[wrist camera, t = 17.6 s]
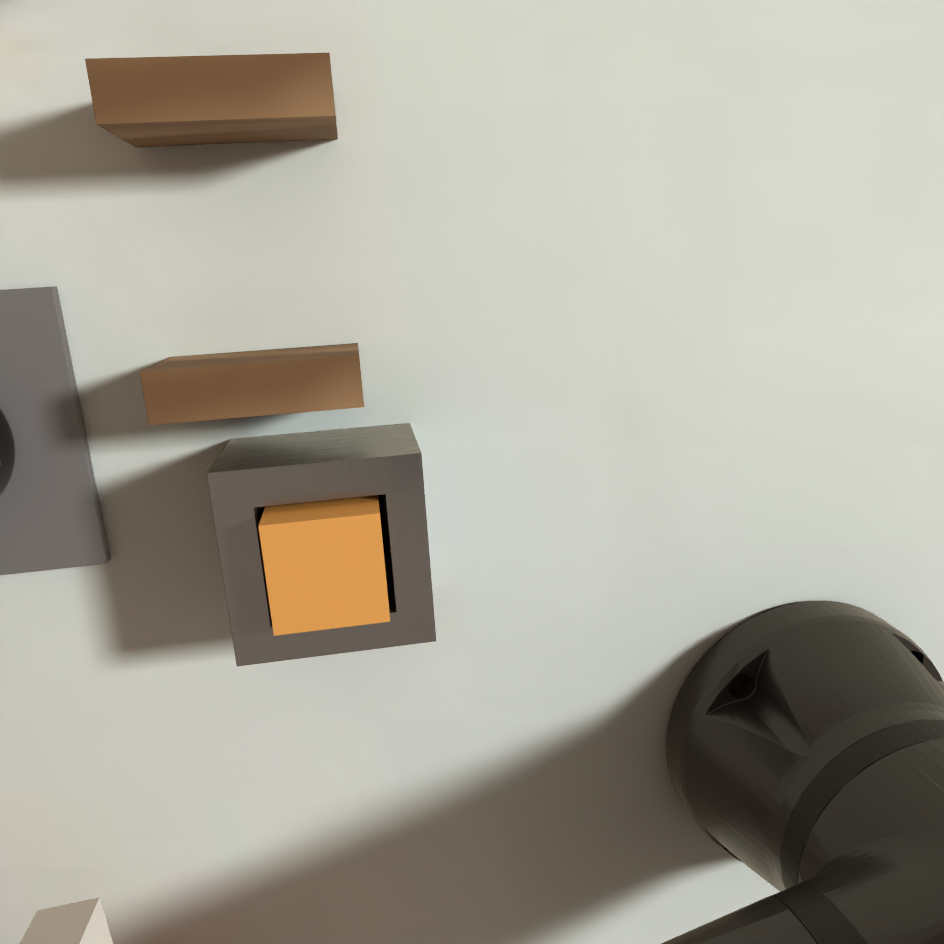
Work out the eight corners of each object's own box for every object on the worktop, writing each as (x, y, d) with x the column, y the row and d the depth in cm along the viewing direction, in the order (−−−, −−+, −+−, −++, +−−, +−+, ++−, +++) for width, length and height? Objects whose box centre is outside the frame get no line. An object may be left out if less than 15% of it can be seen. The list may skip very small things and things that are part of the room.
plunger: (383, 564, 35) (390, 621, 30) (286, 575, 35) (273, 635, 29) (374, 472, 34) (379, 513, 28) (274, 482, 34) (258, 525, 28)
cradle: (362, 387, 34) (363, 406, 30) (177, 403, 33) (148, 425, 29) (332, 86, 31) (329, 52, 26) (127, 92, 30) (84, 58, 25)
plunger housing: (422, 584, 37) (436, 641, 32) (254, 603, 36) (236, 666, 31) (409, 423, 35) (421, 453, 29) (230, 439, 34) (206, 473, 28)
